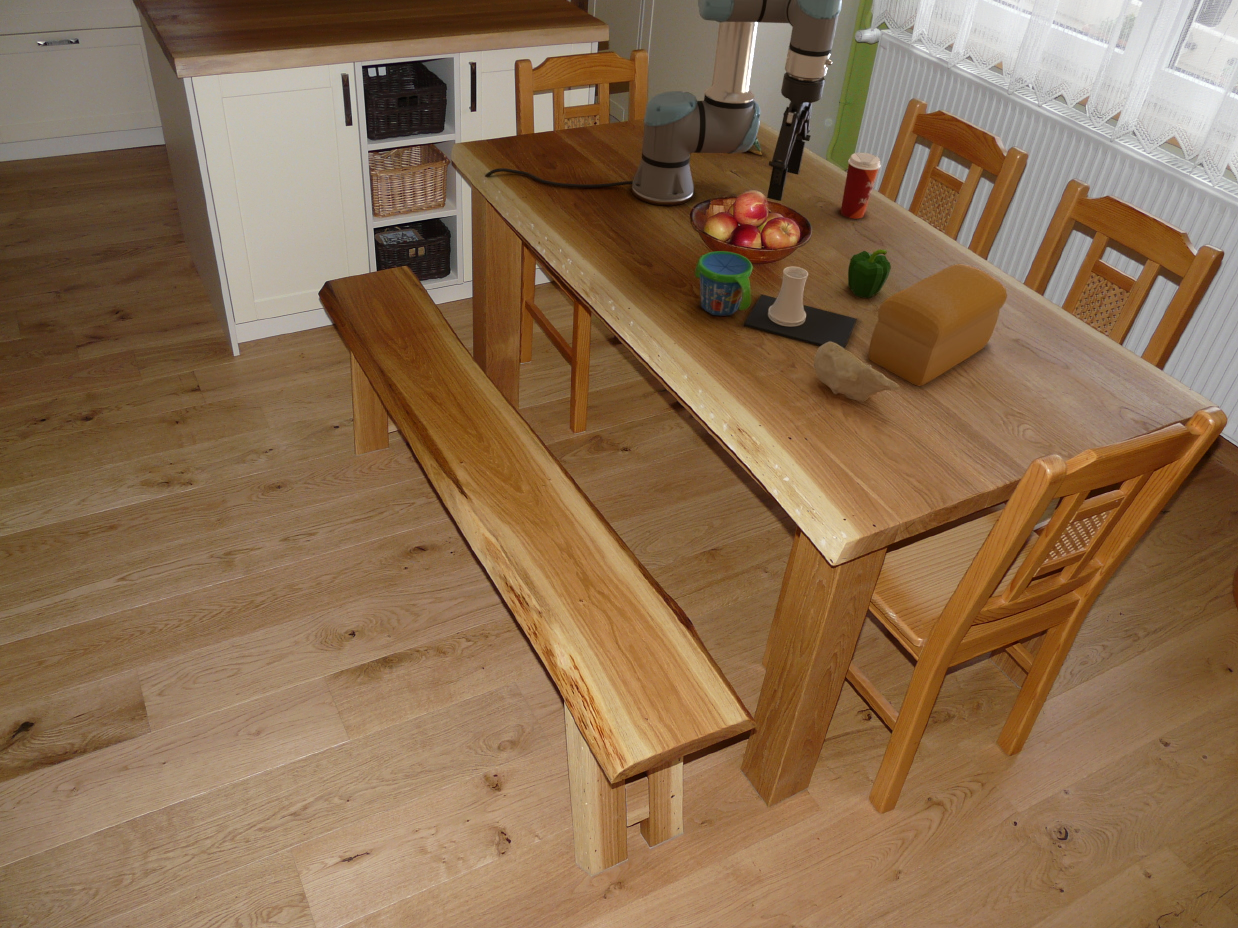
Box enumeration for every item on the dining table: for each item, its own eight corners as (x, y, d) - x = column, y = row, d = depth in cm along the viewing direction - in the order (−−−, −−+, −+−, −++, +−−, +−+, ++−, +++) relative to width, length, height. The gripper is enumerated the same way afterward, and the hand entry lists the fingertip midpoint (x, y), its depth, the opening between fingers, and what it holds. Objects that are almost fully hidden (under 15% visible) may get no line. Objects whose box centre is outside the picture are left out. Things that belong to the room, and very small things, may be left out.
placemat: (743, 326, 184) (743, 323, 184) (761, 296, 193) (761, 294, 193) (842, 352, 179) (843, 349, 178) (856, 321, 188) (856, 318, 188)
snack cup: (677, 294, 192) (683, 249, 185) (721, 285, 196) (728, 241, 189) (715, 332, 181) (722, 286, 175) (761, 322, 185) (769, 277, 179)
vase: (812, 318, 187) (822, 273, 180) (791, 331, 182) (800, 286, 176) (782, 303, 191) (791, 259, 184) (760, 315, 186) (768, 271, 180)
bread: (920, 389, 171) (943, 318, 161) (863, 357, 178) (883, 288, 168) (989, 345, 184) (1015, 278, 175) (934, 318, 191) (956, 251, 182)
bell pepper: (840, 296, 195) (850, 253, 189) (846, 279, 201) (857, 237, 195) (879, 306, 194) (892, 262, 187) (885, 288, 200) (897, 245, 193)
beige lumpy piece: (800, 375, 175) (803, 366, 161) (823, 343, 175) (828, 331, 160) (868, 422, 173) (877, 417, 159) (892, 389, 173) (903, 382, 158)
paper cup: (867, 222, 224) (882, 166, 215) (835, 218, 225) (848, 161, 216) (867, 209, 230) (881, 154, 221) (836, 204, 231) (849, 149, 222)
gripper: (809, 100, 158) (785, 215, 172) (839, 59, 176) (816, 166, 190) (766, 91, 160) (747, 206, 174) (801, 51, 178) (781, 158, 192)
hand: (783, 185), depth 182 cm, fingers open, 13 cm apart
